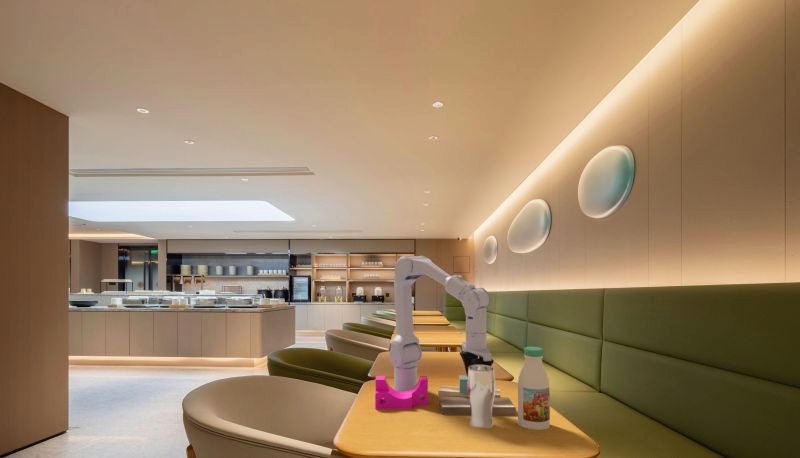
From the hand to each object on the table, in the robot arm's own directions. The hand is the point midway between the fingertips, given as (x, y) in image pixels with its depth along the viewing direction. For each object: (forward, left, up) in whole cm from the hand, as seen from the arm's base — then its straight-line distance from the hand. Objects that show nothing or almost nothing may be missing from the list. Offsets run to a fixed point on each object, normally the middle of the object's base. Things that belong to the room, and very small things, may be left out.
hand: (476, 380), depth 130 cm
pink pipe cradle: (-4, -21, -8) cm, 23 cm away
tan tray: (-8, -1, -8) cm, 12 cm away
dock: (0, 0, -8) cm, 8 cm away
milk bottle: (+12, +12, -8) cm, 19 cm away
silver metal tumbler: (+13, -1, -8) cm, 15 cm away
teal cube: (-7, -2, -5) cm, 9 cm away
